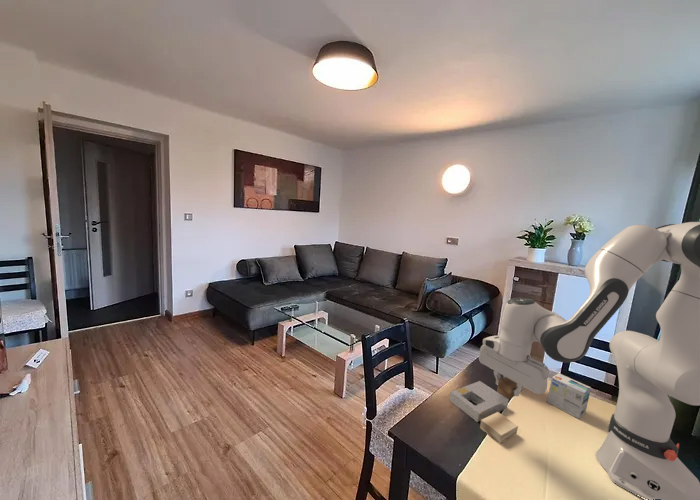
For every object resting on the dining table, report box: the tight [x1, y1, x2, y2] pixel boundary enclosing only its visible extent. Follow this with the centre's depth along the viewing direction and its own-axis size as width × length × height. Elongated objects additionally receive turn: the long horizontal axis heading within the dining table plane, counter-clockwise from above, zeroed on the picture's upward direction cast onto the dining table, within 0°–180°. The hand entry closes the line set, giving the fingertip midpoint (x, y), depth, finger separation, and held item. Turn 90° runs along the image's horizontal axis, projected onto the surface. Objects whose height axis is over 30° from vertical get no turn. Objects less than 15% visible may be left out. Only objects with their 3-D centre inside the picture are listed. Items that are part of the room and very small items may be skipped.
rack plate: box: [448, 380, 510, 423], centre depth 107 cm, size 12×17×4 cm
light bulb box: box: [546, 372, 592, 420], centre depth 108 cm, size 11×7×11 cm, turn 35°
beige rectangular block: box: [479, 412, 519, 445], centre depth 94 cm, size 7×9×3 cm
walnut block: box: [496, 377, 518, 400], centre depth 92 cm, size 4×4×4 cm
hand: (507, 389), depth 92 cm, fingers closed on walnut block, 4 cm apart
